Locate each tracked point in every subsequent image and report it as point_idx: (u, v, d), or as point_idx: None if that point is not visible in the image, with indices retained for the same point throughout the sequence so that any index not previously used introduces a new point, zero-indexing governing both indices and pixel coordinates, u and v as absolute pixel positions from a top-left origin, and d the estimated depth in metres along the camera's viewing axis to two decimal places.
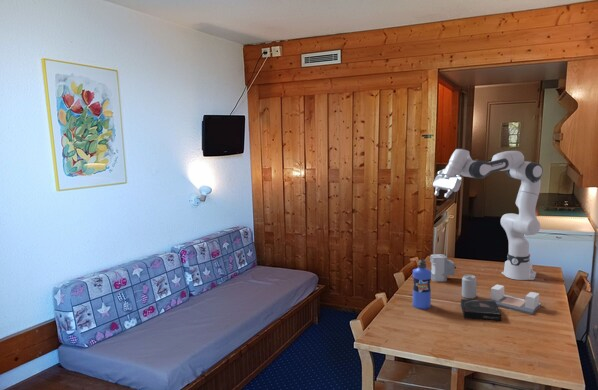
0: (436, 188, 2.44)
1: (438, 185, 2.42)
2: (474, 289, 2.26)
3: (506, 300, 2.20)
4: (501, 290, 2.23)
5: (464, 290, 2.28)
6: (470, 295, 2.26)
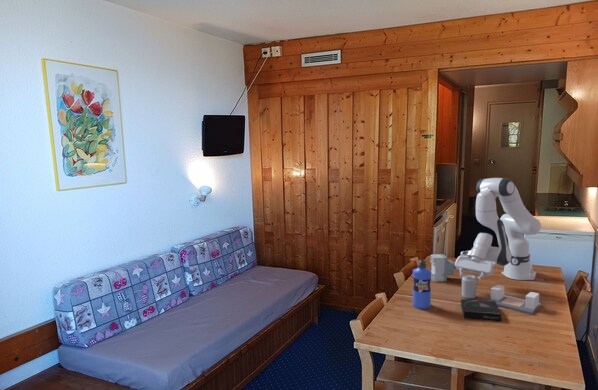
0: (461, 269, 2.35)
1: (464, 266, 2.34)
2: (474, 289, 2.26)
3: (506, 300, 2.20)
4: (501, 290, 2.23)
5: (463, 290, 2.28)
6: (470, 295, 2.26)
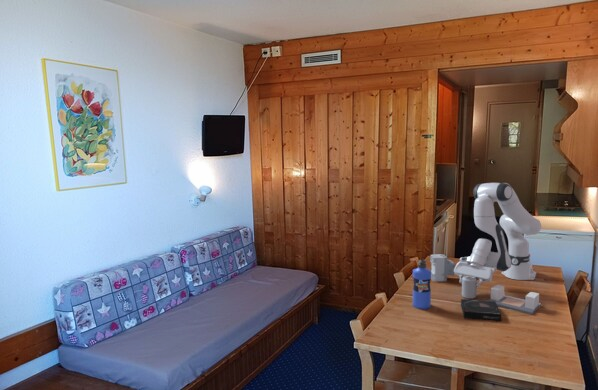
0: (460, 275, 2.34)
1: (463, 272, 2.33)
2: (474, 289, 2.26)
3: (506, 300, 2.20)
4: (501, 290, 2.23)
5: (464, 290, 2.28)
6: (470, 295, 2.26)
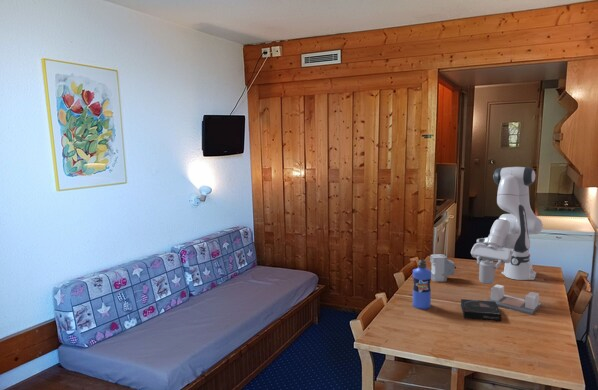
0: (478, 257, 2.27)
1: (481, 254, 2.26)
2: (492, 274, 2.19)
3: (506, 300, 2.20)
4: (501, 290, 2.23)
5: (481, 275, 2.21)
6: (488, 280, 2.20)
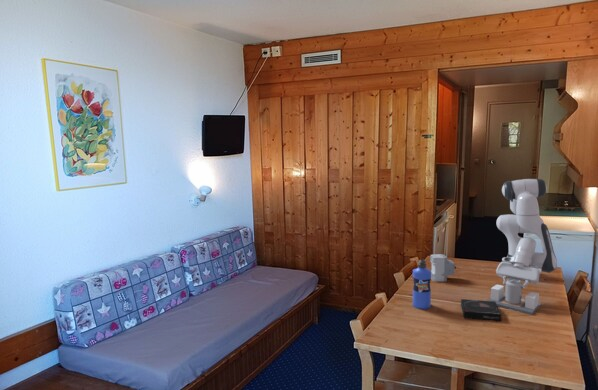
0: (504, 276, 2.21)
1: (507, 273, 2.20)
2: (519, 294, 2.14)
3: None
4: (501, 290, 2.23)
5: (508, 295, 2.16)
6: (515, 300, 2.14)
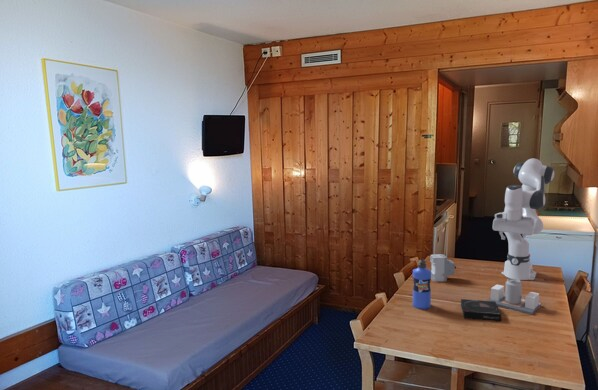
0: (500, 232, 2.29)
1: (503, 230, 2.27)
2: (519, 294, 2.14)
3: None
4: (501, 290, 2.23)
5: (508, 295, 2.16)
6: (515, 300, 2.14)
